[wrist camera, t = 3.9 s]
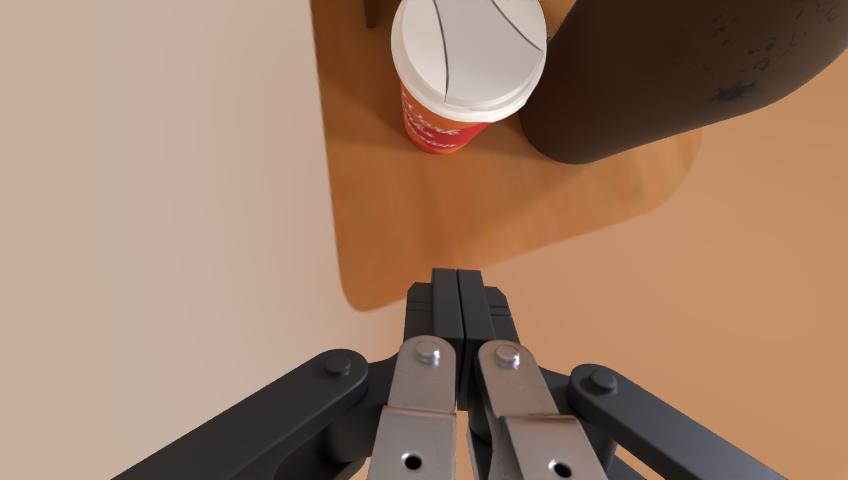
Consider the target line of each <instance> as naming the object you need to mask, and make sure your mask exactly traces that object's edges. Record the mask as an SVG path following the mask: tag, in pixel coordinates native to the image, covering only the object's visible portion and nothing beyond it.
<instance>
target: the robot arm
mask: <svg viewBox="0 0 848 480" xmlns="http://www.w3.org/2000/svg"><path fill="white" fill-rule="evenodd" d="M456 398H457V410H461V411H468V418H469V421H468V428H467V442H468V448H469V453H470V459H471V464H472V469H473V475H474V479H475V480H647V479H645V478H644V477H643V476H641V475H640V474H639V473H638V472H636V471H635V470H634V469H632V468H631V467H630V466H629V465H627V464H626V463H625V462H624V461H622V460H621V459H619V458H618V457H617V456H616V455H615V450H616V448H617V445H618V444H619V445H621V446H622V447H623V448H625V449H626V450H627V451H629V452H630V453H631V454H633V455H634V456H635V457H637V458H638V459H639V460H641V461H642V462H643V463H645V464H646V465H647V466H649V467H650V468H651V469H652V470H654V471H655V472H657V473H658V474H659V475H661V476H662V477H663V478H664V479H665V480H788V479H787V478H785V477H783V476H782V475H780V474H779V473H777V472H775V471H774V470H772V469H770V468H769V467H767V466H766V465H764V464H763V463H761V462H760V461H758V460H756V459H755V458H753V457H752V456H750V455H748V454H747V453H745V452H744V451H742V450H740V449H739V448H737V447H736V446H734V445H732V444H731V443H729V442H727V441H726V440H724V439H723V438H721V437H720V436H718V435H716V434H715V433H713V432H712V431H710V430H708V429H707V428H705V427H704V426H702V425H700V424H699V423H697V422H695V421H694V420H692V419H691V418H689V417H688V416H686V415H685V414H683V413H681V412H680V411H678V410H676V409H675V408H673V407H672V406H670V405H669V404H667V403H665V402H664V401H662V400H660V399H659V398H657V397H656V396H654V395H653V394H651V393H649V392H648V391H646V390H644V389H643V388H641V387H640V386H638V385H637V384H635V383H633V382H632V381H630V380H629V379H627V378H625V377H624V376H622V375H621V374H619V373H617V372H616V371H614V370H612V369H609V368H607V367H604V366H601V365H597V364H582V365H579V366H577V367H575V368H574V369H573V370H572V372H571V375H570V376H566V375H563V374H559V373H556V372H552V371H550V370H547V369H544V368H542V367H540V366H538V365H537V363H536V361H535V358H534V356H533V355H532V353H531V352H530V351H529V350H528V349H526V348H525V347H523V346H522V345H521V344H520V341H519V338H518V335H517V331H516V328H515V325H514V322H513V319H512V317H511V313H510V309H509V306H508V303H507V299H506V296H505V295H504V294H503V293H502V292H501V291H500V290H499V289H498V288H497V287H487V286H484V285H483V281H482V276H481V272H480V271H478V270H461V269H457V270H455V269H444V268H432V277H431V283H420V282H415V283H414V284H413V285H412V286H411V287H410V289H409V290H408V293H407V306H406V317H405V328H404V339H403V344H402V345H401V347H400V349H399V352H397V353H396V354H395V355H393V356H392V357H390V358H388V359H385V360H383V361H378V362H373V363H367V361H366V359H365V358H364V357H363V356H362V355H361V354H359V353H357V352H355V351H352V350H348V349H334V350H329V351H326V352H323V353H321V354H319V355H317V356H315V357H314V358H312V359H310V360H309V361H307V362H305V363H304V364H302V365H300V366H299V367H297V368H295V369H294V370H292V371H290V372H289V373H287V374H285V375H284V376H282V377H280V378H279V379H277V380H275V381H274V382H272V383H270V384H269V385H267V386H265V387H264V388H262V389H260V390H259V391H257V392H255V393H254V394H252V395H250V396H249V397H247V398H246V399H244V400H242V401H241V402H239V403H238V404H236V405H234V406H232V407H231V408H229V409H227V410H225V411H224V412H222V413H221V414H219V415H217V416H215V417H214V418H212V419H210V420H209V421H207V422H206V423H204V424H202V425H201V426H199V427H197V428H196V429H194V430H192V431H191V432H189V433H187V434H186V435H184V436H182V437H181V438H179V439H177V440H176V441H174V442H172V443H171V444H169V445H167V446H166V447H164V448H162V449H161V450H159V451H157V452H156V453H154V454H152V455H151V456H149V457H148V458H146V459H144V460H142V461H141V462H139V463H137V464H136V465H134V466H132V467H131V468H129V469H127V470H126V471H124V472H122V473H121V474H119V475H117V476H116V477H114V478H112V479H111V480H349V479H350V478H351V477H352V476H353V475H354V474H355V473H357V472H358V471H359V470H360V468H361V467H362V466H363V465H364V463H365V461H366V458H367V457H371V456H372V457H371V462H370V466H369V470H368V475H367V479H366V480H455V471H456V413H454V410H455V406H456Z"/></svg>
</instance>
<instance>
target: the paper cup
mask: <svg viewBox="0 0 848 480" xmlns="http://www.w3.org/2000/svg"><path fill="white" fill-rule="evenodd" d="M391 50H392V56H393V60H394V64H395V67H396V70H397V72H398V75H399V77H400V85H401V97H402V109H403V118H404V124H405V128H406V131H407V133H408V135H409V137H410V139H411V140H412V141H413V142H414V143H415V144H416V145H417V146H418V147H419V148H420V149H422V150H424V151H426V152H428V153H432V154H448V153H452V152H454V151H456V150H458V149H460V148H461V147H463V146H464V145H465V144H467V143H468V142H469V141H470V140H471V139H473V138H474V137H475V136H476V135H477V134H478V133H479V132H481V131H482V130H483V129H484V128H485V127H486V126H487V125H489V124H490V123H491V122H495V121H498V120H501V119H504V118H506V117H507V116H509V115H511V114H513V113H514V112H516V111H517V110H518V109H520V108H521V107H522V106H523V105H524V104H525V103H526V101H527V99H528V98H529V96H530V94H531V93H532V91H533V90H534V88H535V86H536V85H537V83H538V81H539V79H540V77H541V74H542V72H543V68H544V65H545V61H546V51H547V43H546V24H545V19H544V14H543V11H542V9H541V6H540V3H539V1H538V0H402V1H401V3H400V5H399V7H398V10H397V12H396V14H395V18H394V21H393V25H392V33H391Z"/></svg>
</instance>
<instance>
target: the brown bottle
mask: <svg viewBox="0 0 848 480" xmlns="http://www.w3.org/2000/svg"><path fill="white" fill-rule="evenodd" d="M546 43H547V51H546V61H545V65H544V68H543V72H542V74H541V77H540V79H539V81H538V83H537V85H536V86H535V88H534V90H533V91H532V93H531V94H530V96H529V98H528V99H527V101H526V103H525V104H524V105H523V106H522V107H521V108H520V109H518V110H519V117H520V121H521V124H522V127H523V129H524V131H525V133H526V135H527V137H528V138H529V140H530V141H531V142H532V144H533V145H534V146H535V147H536V148H537V149H538V150H539V151H541V152H542V153H543V154H545V155H546V156H548V157H550V158H552V159H554V160H556V161H559V162H563V163H568V164H585V163H590V162H594V161H597V160H600V159H603V158H605V157H608V156H611V155H614V154H617V153H620V152H623V151H626V150H628V149H632V148H635V147H638V146H641V145H644V144H647V143H651V142H654V141H657V140H660V139H663V138H667V137H670V136H673V135H676V134H680V133H683V132H686V131H689V130H693V129H696V128H700V127H703V126H706V125H710V124H713V123H716V122H719V121H723V120H726V119H730V118H733V117H736V116H740V115H743V114H746V113H749V112H752V111H755V110H757V109H760V108H763V107H765V106H767V105H769V104H772V103H774V102H776V101H778V100H780V99H782V98H784V97H785V96H787V95H789V94H790V93H792V92H794V91H795V90H797V89H798V88H800V87H801V86H803V85H804V84H805V83H807V82H808V81H809V80H811V79H812V78H813V77H815V76H816V75H817V74H819V73H820V72H821V71H823V69H825V68H826V67H827V66H829V65H830V64H831V63H832V62H833V61H834V60H836V59H837V58H838V57H839V56H840V55H841V54H842V53H843V52H844V51H845V50H846V49H847V48H848V0H576V2H575V3H574V5H573V6H572V8H571V9H570V11H569V12H568V14H567V15H566V17H565V19H564V20H563V22H562V23H561V25H560V26H559V28H558V29H557V31H556V32H555V34H554V35H553V36H552V37H549V38H548V39H547V40H546Z"/></svg>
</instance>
